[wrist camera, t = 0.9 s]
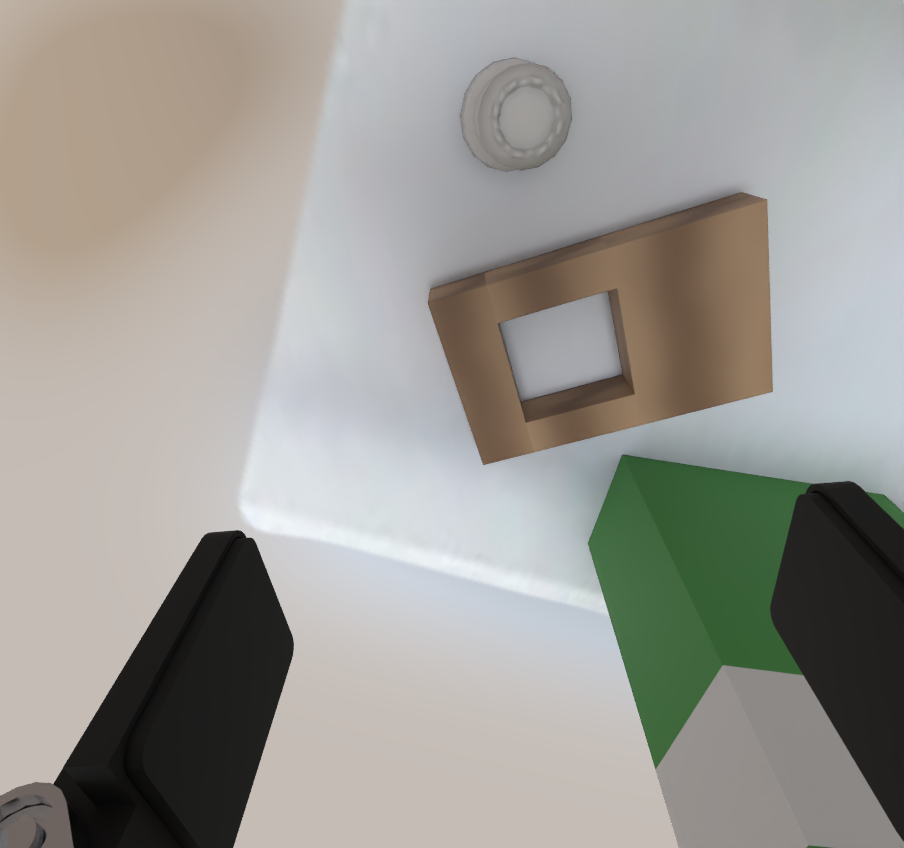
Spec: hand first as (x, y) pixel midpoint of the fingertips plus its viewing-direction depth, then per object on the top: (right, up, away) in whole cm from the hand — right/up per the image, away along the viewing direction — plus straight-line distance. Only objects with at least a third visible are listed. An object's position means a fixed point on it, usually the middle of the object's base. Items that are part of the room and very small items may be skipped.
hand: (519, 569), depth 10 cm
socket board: (+7, +8, +21) cm, 23 cm away
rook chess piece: (+1, +17, +16) cm, 23 cm away
